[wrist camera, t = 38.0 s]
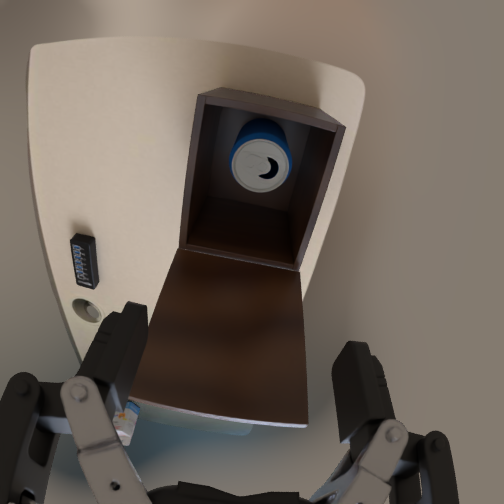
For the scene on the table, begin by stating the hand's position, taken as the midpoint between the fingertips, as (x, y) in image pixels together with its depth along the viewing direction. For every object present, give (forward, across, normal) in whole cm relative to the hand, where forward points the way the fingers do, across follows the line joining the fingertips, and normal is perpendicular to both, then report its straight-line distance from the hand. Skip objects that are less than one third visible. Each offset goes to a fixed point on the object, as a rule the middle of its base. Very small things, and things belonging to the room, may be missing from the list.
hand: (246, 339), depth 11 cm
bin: (+34, 0, +2) cm, 34 cm away
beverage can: (+34, 0, 0) cm, 34 cm away
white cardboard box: (+34, +26, +87) cm, 97 cm away
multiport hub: (+34, +28, +27) cm, 52 cm away
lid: (+11, 0, +11) cm, 15 cm away
